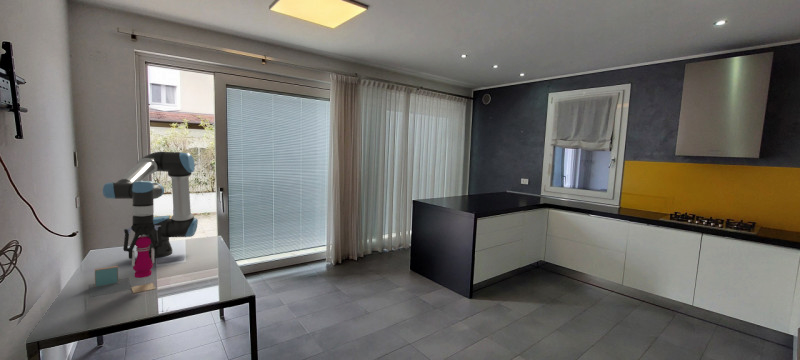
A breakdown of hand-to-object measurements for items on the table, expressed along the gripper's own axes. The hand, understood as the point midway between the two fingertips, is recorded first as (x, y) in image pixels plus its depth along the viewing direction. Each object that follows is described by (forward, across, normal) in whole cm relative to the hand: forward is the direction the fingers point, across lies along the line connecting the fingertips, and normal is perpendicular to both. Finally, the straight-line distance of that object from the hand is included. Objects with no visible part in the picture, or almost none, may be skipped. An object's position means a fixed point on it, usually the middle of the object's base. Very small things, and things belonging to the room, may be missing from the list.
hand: (143, 263), depth 148 cm
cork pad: (+12, 0, 0) cm, 12 cm away
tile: (+12, +12, -15) cm, 23 cm away
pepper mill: (+6, 0, 0) cm, 6 cm away
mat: (+12, +11, -11) cm, 19 cm away
